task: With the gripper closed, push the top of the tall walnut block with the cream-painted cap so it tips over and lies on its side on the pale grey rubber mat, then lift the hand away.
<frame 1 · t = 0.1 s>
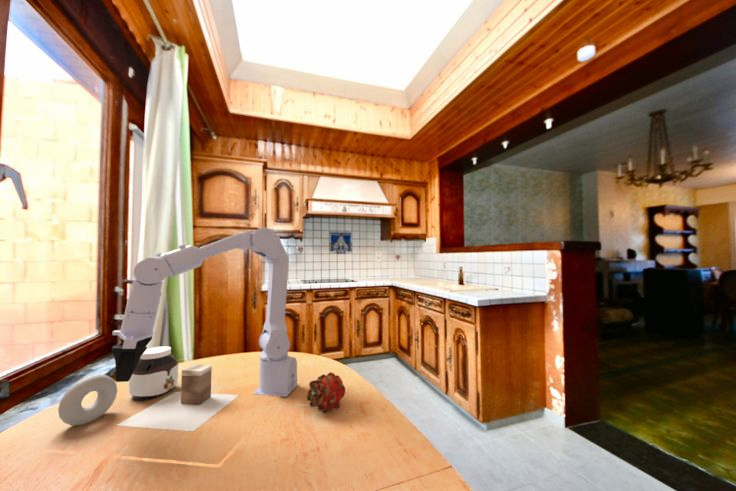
hand: (126, 375, 62), 11 cm above the table, tool pointing down, fingers open, 7 cm apart
donut: (88, 423, 62), on the table
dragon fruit: (326, 407, 69), on the table
mat: (183, 410, 67), on the table
walnut block: (196, 400, 71), resting on mat
spread jar: (152, 393, 77), on the table
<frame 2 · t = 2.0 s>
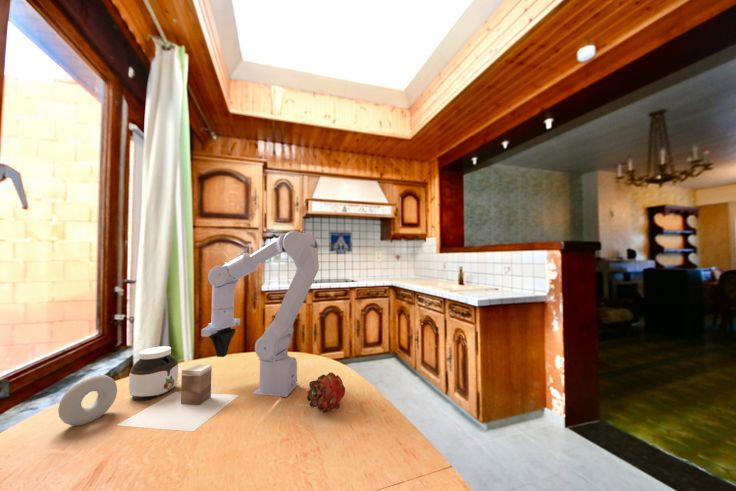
hand: (221, 356, 81), 8 cm above the table, tool pointing down, fingers closed
nothing on the table moved.
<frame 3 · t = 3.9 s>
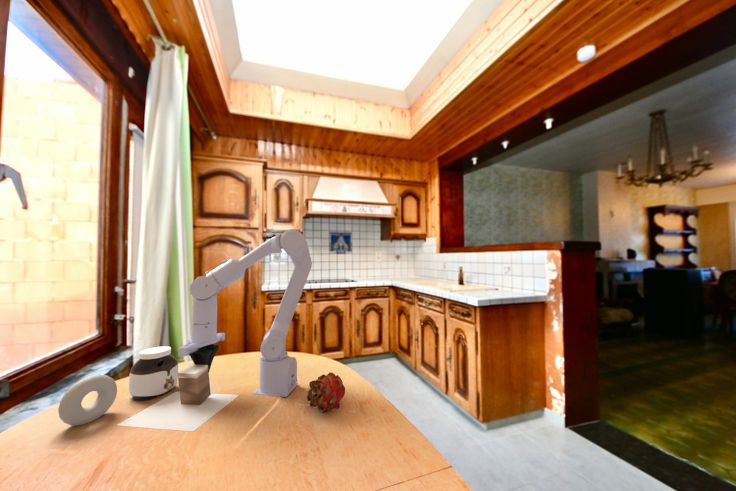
hand: (203, 375, 74), 6 cm above the table, tool pointing down, fingers closed
walnut block: (196, 399, 71), point 1 cm above the table, tilted 10°, touching gripper, mat
everything else where it was.
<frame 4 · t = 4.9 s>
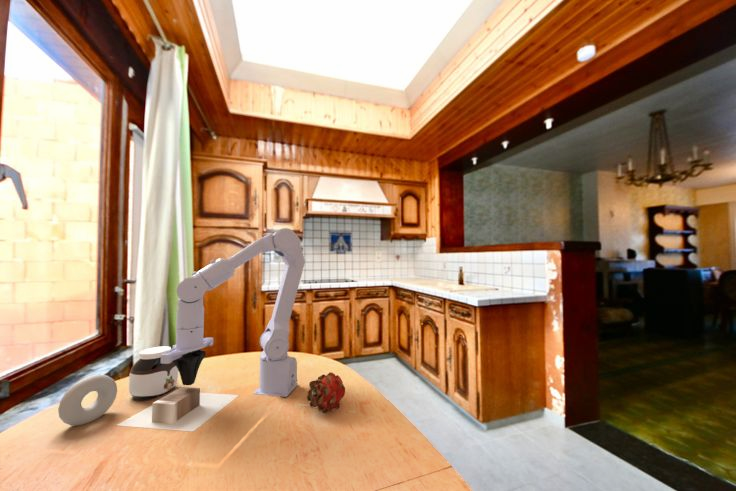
hand: (188, 384, 69), 6 cm above the table, tool pointing down, fingers closed
walnut block: (190, 396, 69), point 2 cm above the table, tilted 90°, touching mat
everything else where it was.
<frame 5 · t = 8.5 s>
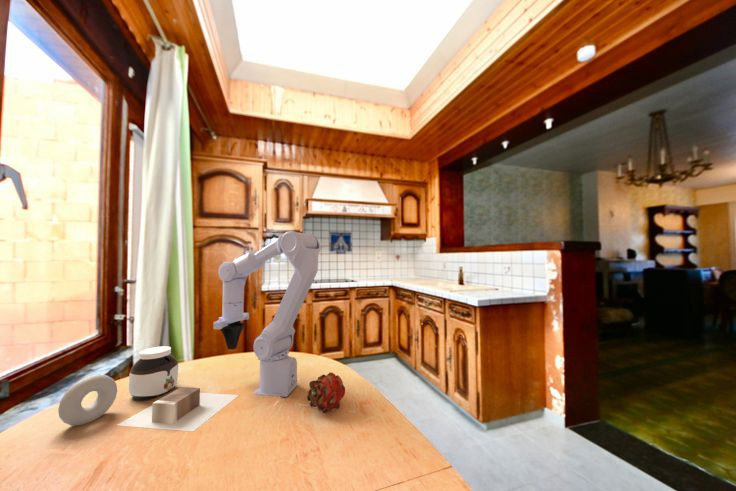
hand: (232, 348, 84), 9 cm above the table, tool pointing down, fingers closed
nothing on the table moved.
at the end: walnut block tilted 90°; walnut block inside the target area (3.0 cm from its centre), point 2.5 cm above the table; walnut block touching mat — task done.
